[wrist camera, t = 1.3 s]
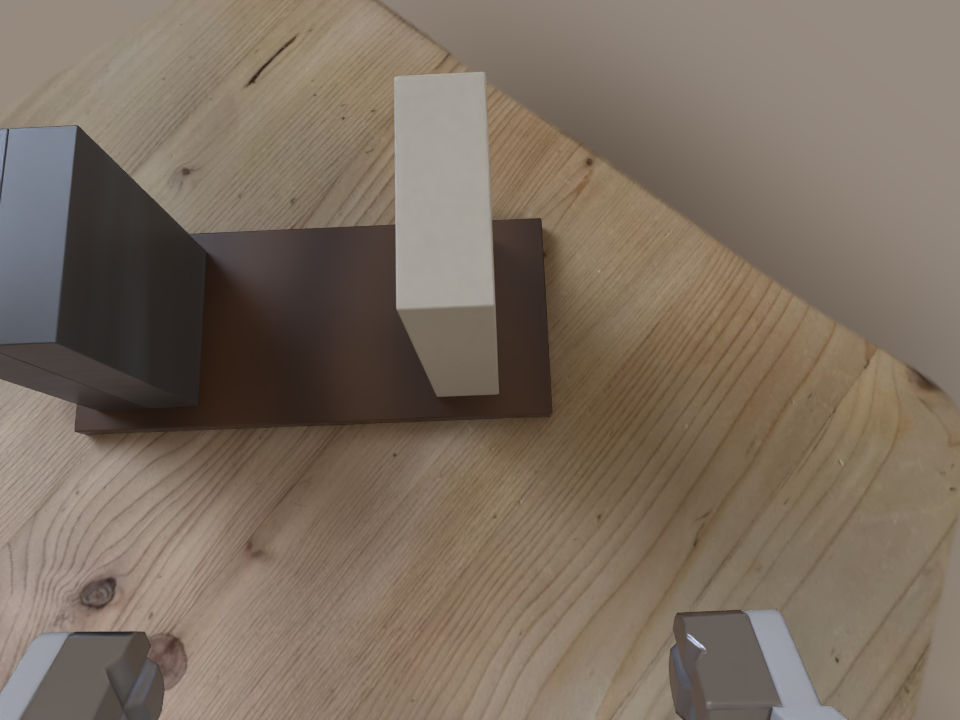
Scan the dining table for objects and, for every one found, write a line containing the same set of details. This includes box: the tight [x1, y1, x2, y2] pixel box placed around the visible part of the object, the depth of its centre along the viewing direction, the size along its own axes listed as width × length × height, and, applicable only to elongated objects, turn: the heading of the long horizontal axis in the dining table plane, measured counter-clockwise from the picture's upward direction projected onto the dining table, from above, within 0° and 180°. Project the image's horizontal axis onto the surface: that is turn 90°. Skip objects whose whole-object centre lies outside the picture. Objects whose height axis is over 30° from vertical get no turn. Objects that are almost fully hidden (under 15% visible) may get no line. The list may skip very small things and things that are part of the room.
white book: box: [394, 72, 499, 397], centre depth 31 cm, size 3×8×14 cm, turn 2°
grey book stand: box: [0, 125, 552, 435], centre depth 32 cm, size 23×10×13 cm, turn 92°
